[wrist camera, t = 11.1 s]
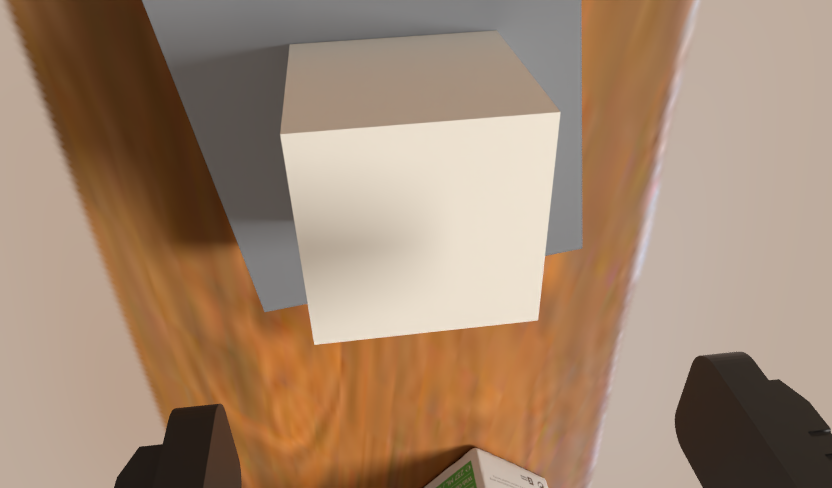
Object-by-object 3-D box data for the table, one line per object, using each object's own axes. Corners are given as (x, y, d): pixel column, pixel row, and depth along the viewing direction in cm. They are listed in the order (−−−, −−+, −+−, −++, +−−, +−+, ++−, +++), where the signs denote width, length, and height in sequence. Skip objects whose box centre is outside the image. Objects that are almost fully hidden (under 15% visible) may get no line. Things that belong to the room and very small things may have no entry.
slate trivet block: (168, -62, 21) (130, -28, 17) (530, -132, 21) (580, -116, 17) (272, 236, 28) (265, 311, 24) (543, 182, 28) (582, 248, 24)
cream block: (289, 44, 18) (279, 134, 13) (496, 30, 19) (560, 111, 14) (314, 221, 22) (314, 344, 17) (489, 205, 22) (537, 320, 17)
